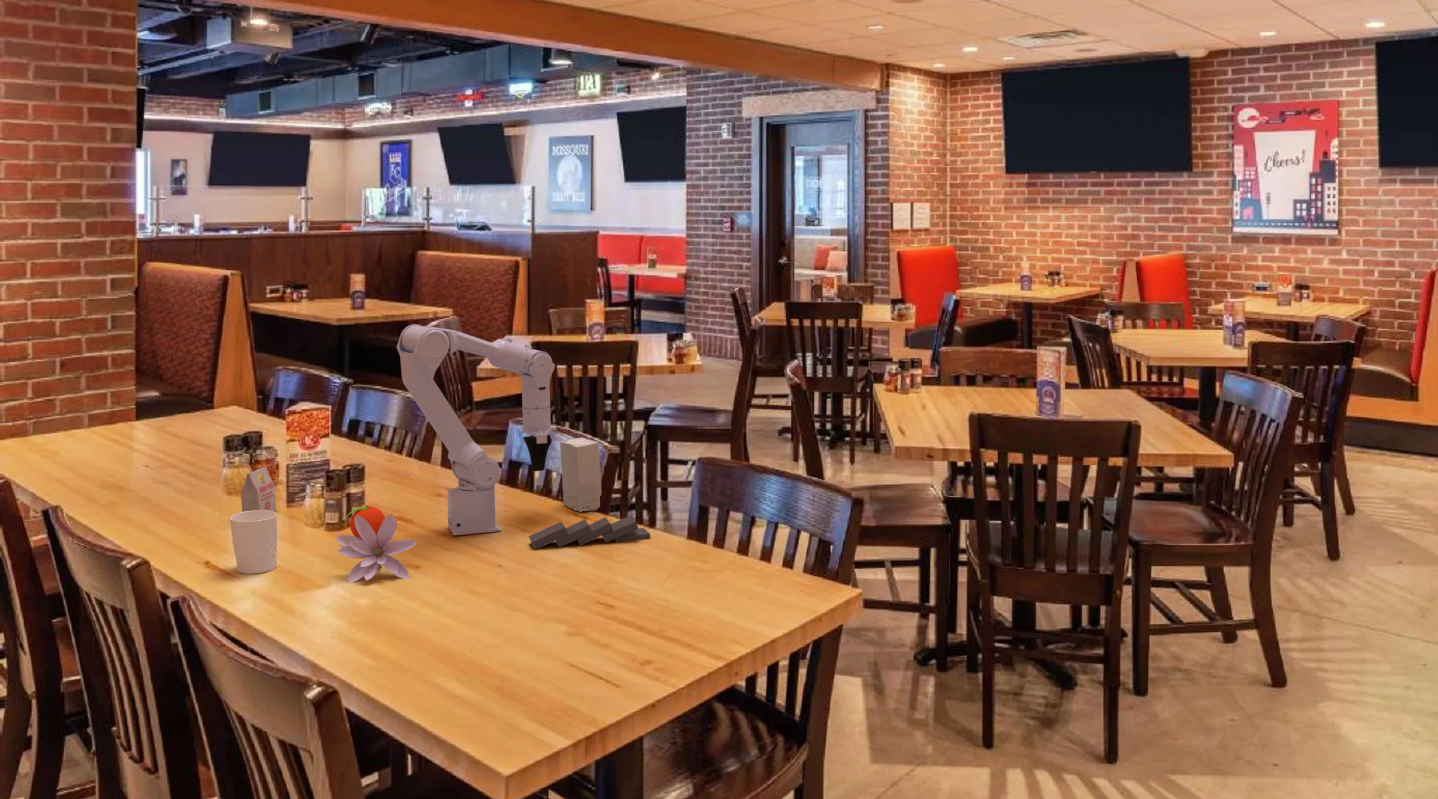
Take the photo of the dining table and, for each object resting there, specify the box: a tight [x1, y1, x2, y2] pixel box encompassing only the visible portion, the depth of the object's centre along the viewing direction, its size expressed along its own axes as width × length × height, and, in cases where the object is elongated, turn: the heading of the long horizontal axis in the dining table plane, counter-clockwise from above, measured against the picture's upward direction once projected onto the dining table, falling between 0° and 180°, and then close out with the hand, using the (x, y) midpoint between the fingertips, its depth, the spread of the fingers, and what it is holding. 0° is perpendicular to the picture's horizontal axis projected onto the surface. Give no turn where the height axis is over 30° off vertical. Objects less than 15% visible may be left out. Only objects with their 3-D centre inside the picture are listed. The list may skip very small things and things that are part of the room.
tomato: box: [344, 505, 386, 540], centre depth 231 cm, size 8×7×7 cm
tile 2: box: [555, 518, 592, 548], centre depth 230 cm, size 2×4×7 cm
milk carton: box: [240, 466, 277, 513], centre depth 249 cm, size 4×7×10 cm, turn 170°
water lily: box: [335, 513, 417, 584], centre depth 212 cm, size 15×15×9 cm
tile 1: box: [528, 521, 568, 550], centre depth 229 cm, size 2×4×7 cm
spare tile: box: [576, 516, 613, 546], centre depth 232 cm, size 2×4×7 cm
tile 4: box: [602, 515, 639, 543], centre depth 233 cm, size 2×4×7 cm
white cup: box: [229, 510, 278, 575], centre depth 214 cm, size 8×8×10 cm
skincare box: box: [559, 437, 603, 512], centre depth 256 cm, size 8×6×15 cm
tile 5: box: [613, 527, 651, 543], centre depth 235 cm, size 2×4×7 cm
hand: (538, 470), depth 248 cm, fingers closed
